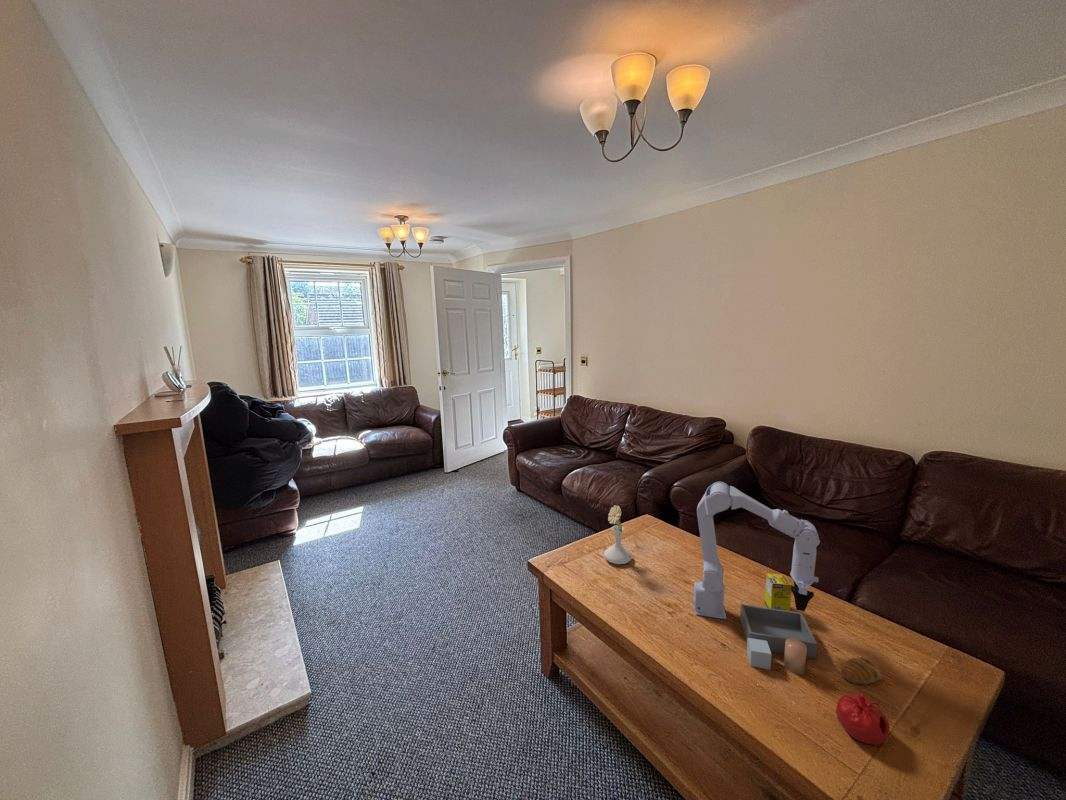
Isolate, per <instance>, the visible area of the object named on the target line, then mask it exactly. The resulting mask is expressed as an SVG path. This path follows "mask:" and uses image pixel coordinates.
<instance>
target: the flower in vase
mask: <svg viewBox="0 0 1066 800" xmlns="http://www.w3.org/2000/svg"><path fill="white" fill-rule="evenodd" d="M621 516H622V509H621V507H620V505H613V506H612V507H611V508H610V510H609V513H608V517H607V521H608V522H609V524H611V525H613V526H611V530H612V531H613V534H614V544H613V545H611V546H609V547H608V548H606V549H605V551H604V552H603V557H604V558H605V560H606V561H608V562H609V563H612V564H614V565H624V564H627V563H629V562H630V561H632V558H633V555H632V552H631V551H630V550H629V549H628V548H626V547H625V546H623V545H622V542H621V539H622V534H623V532H624V530H625V528H624V526H623V524H621Z"/></svg>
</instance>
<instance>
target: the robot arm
mask: <svg viewBox="0 0 1066 800" xmlns="http://www.w3.org/2000/svg"><path fill="white" fill-rule="evenodd" d="M729 508H730V509H731V511H733V510H737V509H740V508H742V509H743V510H744V509H745V510H747V511H748V512H750V513H752V514H754V515H757V516H759V517H761V518H763V519H765V520H767V521H768V524H769V526H771V527H772V528H774V529H775V530H778V531H779V532H781V533H783V534H784V535H787V536H789V537H791V538H794V544H793V548H792V549H793V550H792V560H791V570H790V577H791V578H792V580H793V584H794V585H792V584H791V591H792V592H791V594H793V599H794V604H795V609H796V610H797V611H800V612H805V611H806V610H807V607H808V604H809V602H810V601H811V600H812V599H813V598H814V596H815V594H814V593H815V592H813V591H811V590H809V588H810V587H811V585H813V584H814V583H819V577H818V576H815V568H816V560H817V547H818V546H819V545H820V543H821V540H820V537H819V533H818V531H817V529H816V527H815V525H814V524H813V523H812V522H810V521H809V520H806V519H802V518H801V519H799V518H797V517H795V516H793V515H791V514H790V513H789V511H788V510H786V509H783V510H781V509H780V508H776V509H771V508H770V507H768V506H766V505H765V504H763V503H761V502H759V501H758V500H756V499H754V498H753V497H751V496H749V495H747V494H746V493H744V492H742V491H741V490H739V489H737V488H736V487H735V486H732V485H728V484H727V483H725V482H724V481H715V482H714V483H712V484H710V485H709V486H708V487H707V488H706V491H705V493H704V494H703V496H702V498H701V499H700V501H699V502H698V504H697V507H696V516H697V523H698V530H699V531H698V532H699V538H700V544H701V552H702V559H703V572H702V573H703V574H702V575H703V576H702V579H701V581H699V582H694V583H693V598H692V602H693V603H692V604H693V607H694V614H695V615H696V616H702V617H709V618H715V619H722V620H726V619H727V615H726V610H725V605H724V604H725V589H726V588H725V584H724V573H725V571H724V570H725V569H724V567H723V565H722V564H721V561H720V558H719V553H718V546H717V538H716V531H715V523H714V522H715V521H714V516H715V514H718V513H721V512H725V511H726V510H728V509H729Z"/></svg>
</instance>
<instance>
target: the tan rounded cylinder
mask: <svg viewBox="0 0 1066 800" xmlns="http://www.w3.org/2000/svg"><path fill="white" fill-rule="evenodd" d="M806 653H807V647H806V645H805V644H804V643H803V642H801V641H799V640H797V639H793V638H789V639H787V640H786V641H785V653H784V654H783V655H784V656H783V666H784V668H785V669H786V670H787V671H788V672H790V673H791V674H794V675H798V676H799V675H800V676H801V675H803V674H805V672H806V663H807V658H806Z"/></svg>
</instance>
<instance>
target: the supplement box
mask: <svg viewBox="0 0 1066 800" xmlns="http://www.w3.org/2000/svg"><path fill="white" fill-rule="evenodd" d="M791 585H792V583H791V582H790V580H789V578H788V576H787V575H786V574H780V573H769V572H768V573H767V572H766V574H765V589H764V602H763V603H764V604H765V605H766V608H771V609H778V610H785V611H791V603H792V591H791Z"/></svg>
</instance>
